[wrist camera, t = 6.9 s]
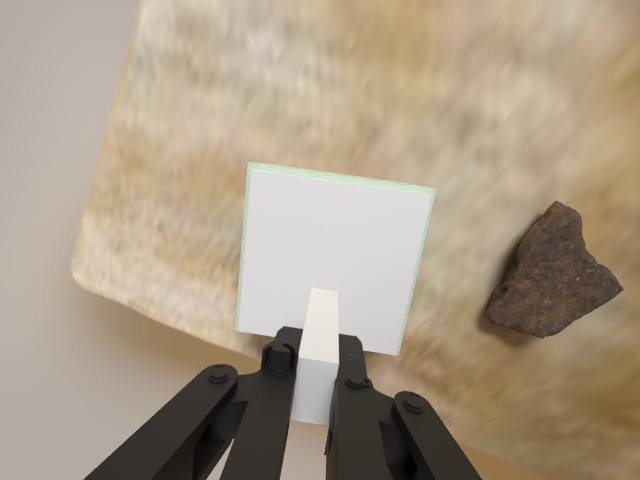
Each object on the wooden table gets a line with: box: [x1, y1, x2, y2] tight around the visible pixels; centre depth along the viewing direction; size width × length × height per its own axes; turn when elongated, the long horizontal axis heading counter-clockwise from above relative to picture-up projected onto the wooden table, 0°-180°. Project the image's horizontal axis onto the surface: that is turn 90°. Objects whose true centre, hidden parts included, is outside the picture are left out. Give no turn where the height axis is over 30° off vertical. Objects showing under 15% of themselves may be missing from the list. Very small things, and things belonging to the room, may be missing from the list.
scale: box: [235, 162, 436, 356], centre depth 27 cm, size 15×14×8 cm
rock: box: [486, 201, 623, 338], centre depth 28 cm, size 11×10×4 cm
